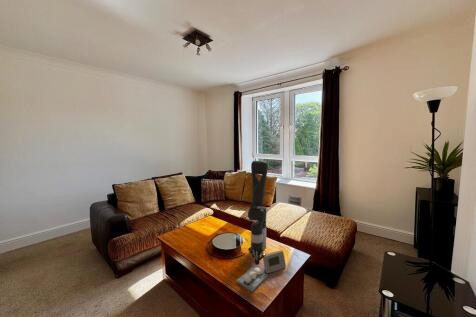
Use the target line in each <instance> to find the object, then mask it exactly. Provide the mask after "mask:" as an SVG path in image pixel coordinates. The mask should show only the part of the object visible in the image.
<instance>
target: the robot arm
mask: <svg viewBox="0 0 476 317" xmlns="http://www.w3.org/2000/svg"><path fill="white" fill-rule="evenodd" d="M250 166H251V167H250V171H251V172H250V173H251V181H252V182H251V183H252V184H251V186H252V187H251V191H252V192H251V193H252V194H251V195H252V196H251V199H252V200H251V204H250V207H249V209H248V212H247V218H248V220H250V221H254V222H252V223H251V224H250V246H249V247H248V249H247V250H248V252H249V253H250V255H251V257H252V258H253V259H254V264H255V266H258V265H260V261H261V260H263V257H265V256H266V255H267V253H265V252H264V250H265V249H267V208H266V206H262V205H263V204H264V199H265V196H266V188H265V186H266V180H267V176H268V169H269V167H268V162H267V161H266V160H252V162H251V164H250ZM258 175H261V178H259V177H258Z"/></svg>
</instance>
